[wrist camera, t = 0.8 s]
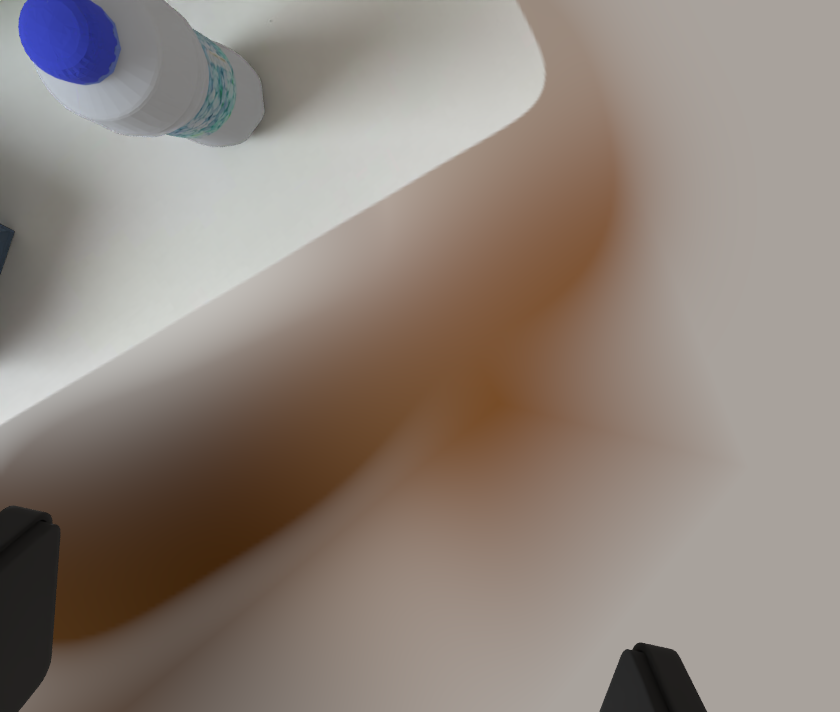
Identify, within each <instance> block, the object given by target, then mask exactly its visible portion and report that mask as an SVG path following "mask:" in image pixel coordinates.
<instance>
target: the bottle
mask: <svg viewBox="0 0 840 712" xmlns="http://www.w3.org/2000/svg"><path fill="white" fill-rule="evenodd" d="M18 27H19V36H20V38H21V43H22V45H23V47H24V49H25V52H26V53H27V54H28V56H29V57H30V59H31V60H32V61H33V62H34V65H35V67H36V70H37V72H38V74H39V76H40V79H41V80H42V82H43V83H44V85H45V86H46V88H47V89H48V91H49V92H50V93H51V94H52V95H53V96H54V97H55V99H56V100H57V101H58V102H59V103H61V104H62V105H63V106H64V107H66V108H67V109H68V110H70V111H72V112H73V113H75V114H77V115H79V116H81V117H83V118H86V119H88V120H90V121H92V122H95V123H97V124H99V125H101V126H103V127H105V128H107V129H109V130H111V131H113V132H116V133H118V134H123V135H127V136H142V137H157V136H162V135H165V134H166V135H171V136H176V137H181V138H186V139H189V140H191V141H194V142H196V143H199V144H202V145H206V146H212V147H226V146H232V145H237V144H240V143H242V142H244V141H246V140H247V139H248V138H249V136H250V134H251V133H252V132H253V131H254V129H255V128H256V126H257V125H258V124H259V123H260V121H261V120H262V118H263V116H264V112H265V109H264V103H263V93H262V84H261V80H260V78H259V76H258V74H257V73H256V71H255V70H254V69H253V68H252V67H251V66H250V65H249V63H248V62H247V61H246V60H245V59H244V58H243V57H241V56H240V55H239V54H238V53H236V52H235V51H233V50H231V49H229V48H227V47H225V46H223V45H221V44H219V43H217V42H214V41H212V40H210V39H208V38H207V37H205V36H203V35H202V34H200V33H199V32H197V31H196V30H194V29H192V27H191V26H190V25H189V23H188V22H187V21H186V19H185V18H184V17H183V16H182V15H181V14H180V13H178V12H177V11H176V10H175V9H174V8H172V7H171V6H170V5H169V4H168V3H166V2H165V1H164V0H27V2H26V3H24V6H23V8H22V10H21V13H20V17H19V26H18Z"/></svg>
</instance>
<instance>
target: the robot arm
mask: <svg viewBox="0 0 840 712" xmlns="http://www.w3.org/2000/svg"><path fill="white" fill-rule="evenodd" d="M59 545H60V528H59V526H58V525H55V524H52V518H51V515H50V514H48V513H46V512H41V511H36V510H32V509H27V508H23V507H18V506H9V507H7V508H5V509H3V510H2V511H1V512H0V712H18V711H19V710H20V709H21V708H22V706H23V705H24V704H25V703H26V701H27V700H28V699H29V698H30V696H31V695H32V694H33V693H34V692H35V690H36V689H37V688H38V687H39V685H40V683H41V682H42V681H43V679H44V677H45V676H46V673H47V671H48V669H49V666H50V663H51V656H52V642H53V629H54V615H55V600H56V587H57V573H58V559H59ZM600 712H707V711H706V709H705V707H704V705H703V703H702V701H701V699H700V697H699V695H698V693H697V691H696V689H695V687H694V685H693V683H692V681H691V679H690V677H689V675H688V673H687V671H686V669H685V667H684V665H683V663H682V661H681V659H680V657H679V655H678V654H677V652H676V651H674V650H672V649H668V648H664V647H659V646H654V645H650V644H645V643H637V644H636V645H635V646H634V648H633V650H629V649H626V650H625V651H624V652H623V653H622V655H621V657H620V660H619V663H618V665H617V668H616V670H615V673H614V675H613V678H612V681H611V683H610V686H609V688H608V691H607V693H606V696H605V699H604V701H603V704H602V707H601V709H600Z"/></svg>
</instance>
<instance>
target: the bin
mask: <svg viewBox="0 0 840 712" xmlns="http://www.w3.org/2000/svg"><path fill="white" fill-rule="evenodd" d="M14 232H15V231H13V230H11V229H9V228H7V227H5V226H3V225H1V224H0V274H1V271H2V268H3V265H4V262H5V259H6V256H7V253H8V250H9V247H10V244H11V241H12V238H13V235H14Z"/></svg>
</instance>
